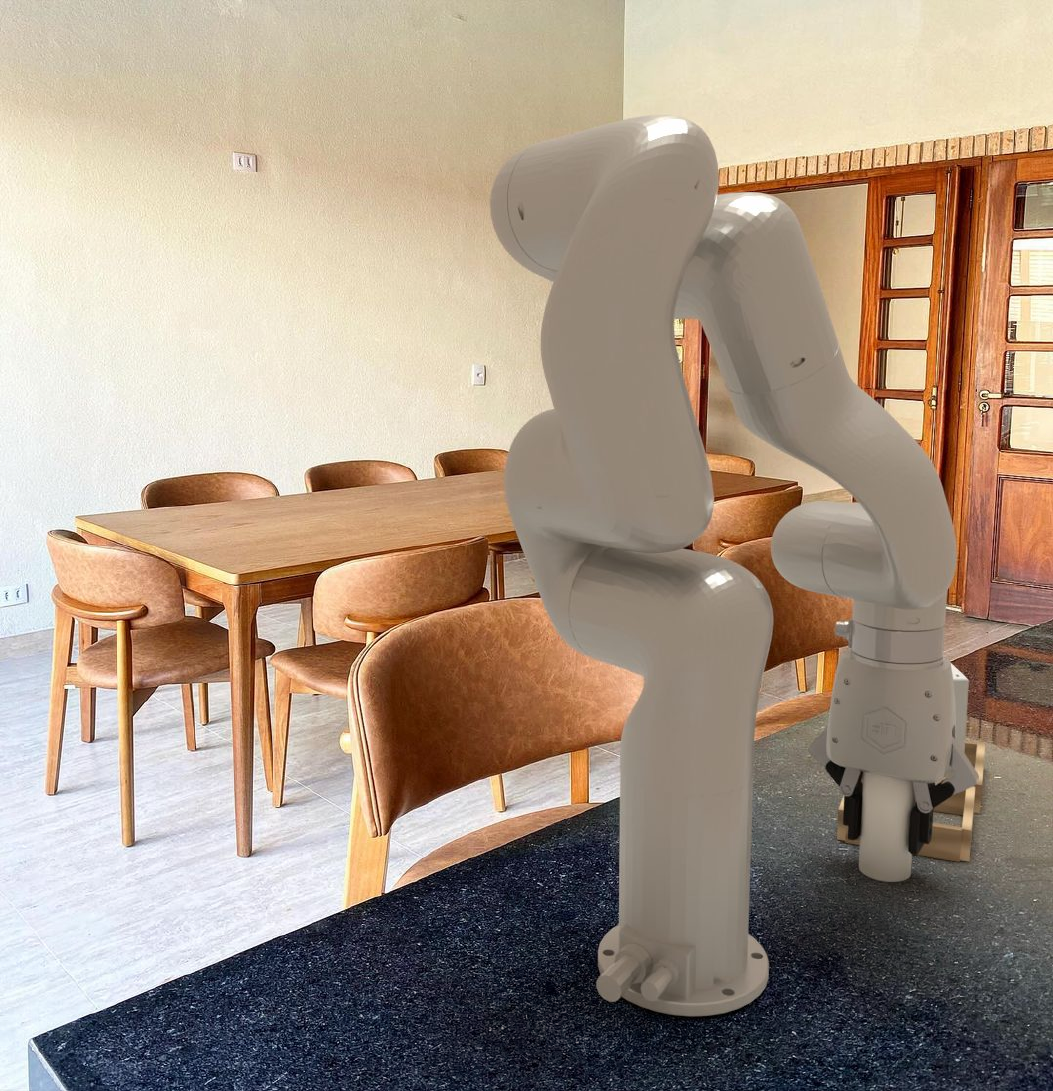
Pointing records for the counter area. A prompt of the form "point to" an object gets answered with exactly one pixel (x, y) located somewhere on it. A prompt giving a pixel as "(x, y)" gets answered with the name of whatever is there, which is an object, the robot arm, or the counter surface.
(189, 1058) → the counter surface
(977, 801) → the oak rack
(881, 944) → the counter surface
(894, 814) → the frosted tube
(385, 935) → the counter surface
